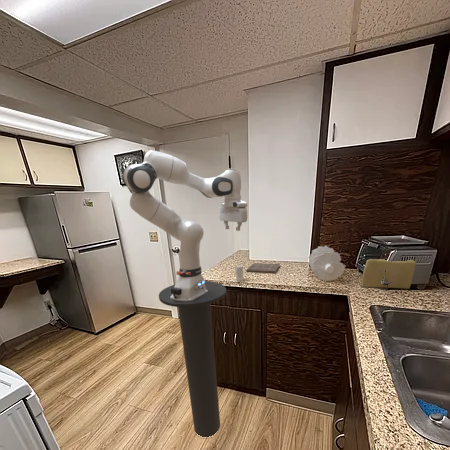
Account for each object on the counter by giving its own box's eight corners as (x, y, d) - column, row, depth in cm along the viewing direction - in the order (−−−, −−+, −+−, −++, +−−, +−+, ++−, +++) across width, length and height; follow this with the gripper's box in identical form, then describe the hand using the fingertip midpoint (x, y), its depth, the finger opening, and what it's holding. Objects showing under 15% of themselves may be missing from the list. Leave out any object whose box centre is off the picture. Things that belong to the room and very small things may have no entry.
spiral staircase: (319, 289, 146) (312, 274, 168) (350, 276, 140) (339, 263, 162) (308, 262, 140) (302, 251, 163) (339, 248, 135) (329, 239, 157)
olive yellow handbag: (364, 289, 130) (369, 261, 125) (358, 283, 139) (362, 257, 134) (410, 289, 127) (417, 261, 121) (401, 283, 136) (407, 256, 130)
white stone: (242, 281, 154) (241, 267, 151) (234, 280, 156) (234, 267, 153) (244, 279, 159) (244, 265, 155) (237, 278, 160) (236, 265, 157)
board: (274, 273, 167) (274, 271, 167) (246, 271, 174) (246, 269, 173) (279, 266, 184) (279, 264, 184) (253, 265, 191) (253, 263, 191)
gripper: (216, 203, 139) (217, 228, 145) (240, 203, 124) (240, 232, 130) (225, 203, 143) (225, 228, 148) (249, 203, 128) (248, 231, 133)
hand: (232, 229), depth 139 cm, fingers open, 8 cm apart
